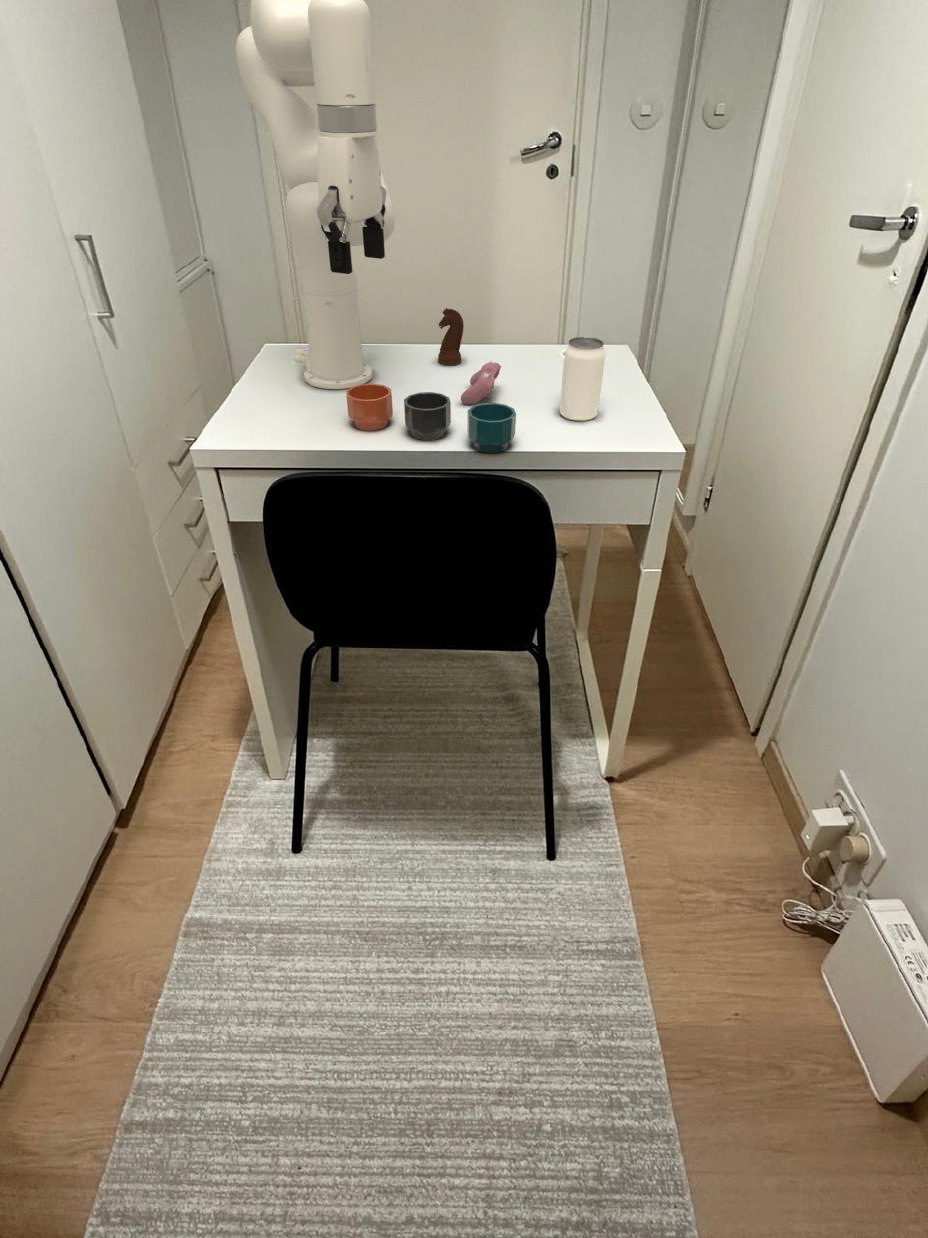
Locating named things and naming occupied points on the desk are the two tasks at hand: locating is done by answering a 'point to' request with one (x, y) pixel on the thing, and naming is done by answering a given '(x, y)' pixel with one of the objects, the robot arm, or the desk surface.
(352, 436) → the desk surface
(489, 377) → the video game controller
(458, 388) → the desk surface
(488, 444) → the top bowl
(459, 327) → the chess piece
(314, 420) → the desk surface
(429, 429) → the bottom bowl
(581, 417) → the can
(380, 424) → the middle bowl
